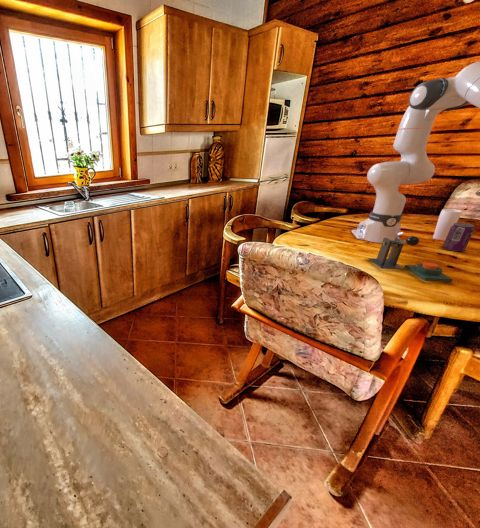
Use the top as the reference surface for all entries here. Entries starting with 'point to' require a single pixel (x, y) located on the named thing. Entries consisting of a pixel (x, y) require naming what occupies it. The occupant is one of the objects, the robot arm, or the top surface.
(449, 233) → the purple box
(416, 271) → the panel
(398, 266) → the power bracket
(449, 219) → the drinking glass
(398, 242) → the lever
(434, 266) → the button
